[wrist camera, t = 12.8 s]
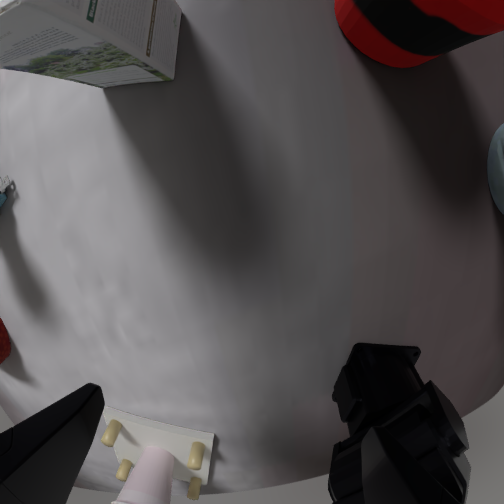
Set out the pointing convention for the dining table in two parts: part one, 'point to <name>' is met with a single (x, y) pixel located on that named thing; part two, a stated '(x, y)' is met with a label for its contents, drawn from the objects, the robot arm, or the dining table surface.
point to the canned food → (4, 342)
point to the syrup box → (91, 39)
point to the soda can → (416, 27)
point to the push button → (3, 189)
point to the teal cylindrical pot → (496, 168)
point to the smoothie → (149, 479)
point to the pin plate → (163, 436)
